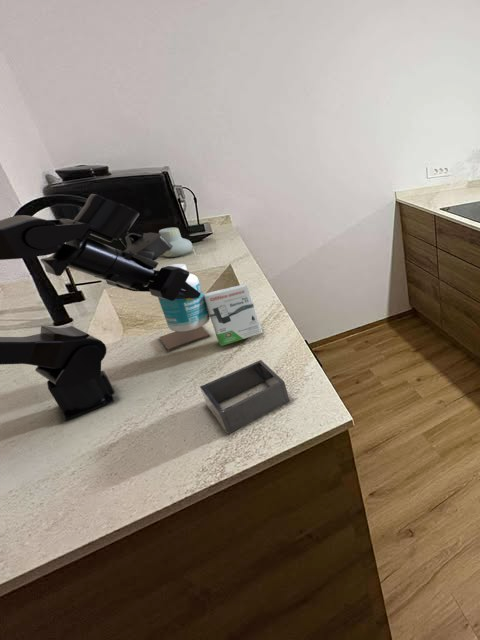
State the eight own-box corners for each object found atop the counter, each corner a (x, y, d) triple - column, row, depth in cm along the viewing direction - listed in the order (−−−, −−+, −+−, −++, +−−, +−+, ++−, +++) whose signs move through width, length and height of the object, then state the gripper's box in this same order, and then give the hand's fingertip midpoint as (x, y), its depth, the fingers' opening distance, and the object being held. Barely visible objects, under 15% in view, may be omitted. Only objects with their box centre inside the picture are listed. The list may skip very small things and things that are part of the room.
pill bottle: (198, 332, 79) (178, 273, 74) (161, 334, 79) (138, 274, 74) (217, 315, 86) (200, 260, 81) (183, 317, 86) (164, 262, 81)
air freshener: (198, 252, 145) (190, 227, 141) (177, 259, 138) (168, 233, 134) (177, 250, 148) (168, 225, 144) (155, 257, 141) (145, 231, 137)
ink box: (220, 346, 83) (202, 295, 80) (218, 343, 86) (201, 294, 84) (264, 332, 88) (247, 284, 86) (260, 329, 92) (244, 283, 89)
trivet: (169, 351, 84) (168, 349, 83) (160, 339, 88) (159, 336, 88) (210, 336, 89) (209, 334, 89) (199, 325, 94) (198, 323, 94)
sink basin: (227, 434, 61) (219, 413, 60) (207, 406, 68) (199, 386, 66) (289, 401, 68) (284, 381, 67) (266, 378, 75) (260, 359, 73)
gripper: (161, 228, 67) (235, 265, 80) (100, 219, 73) (179, 254, 87) (125, 285, 63) (209, 313, 77) (65, 270, 70) (153, 299, 83)
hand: (187, 292), depth 81 cm, fingers closed on pill bottle, 7 cm apart
